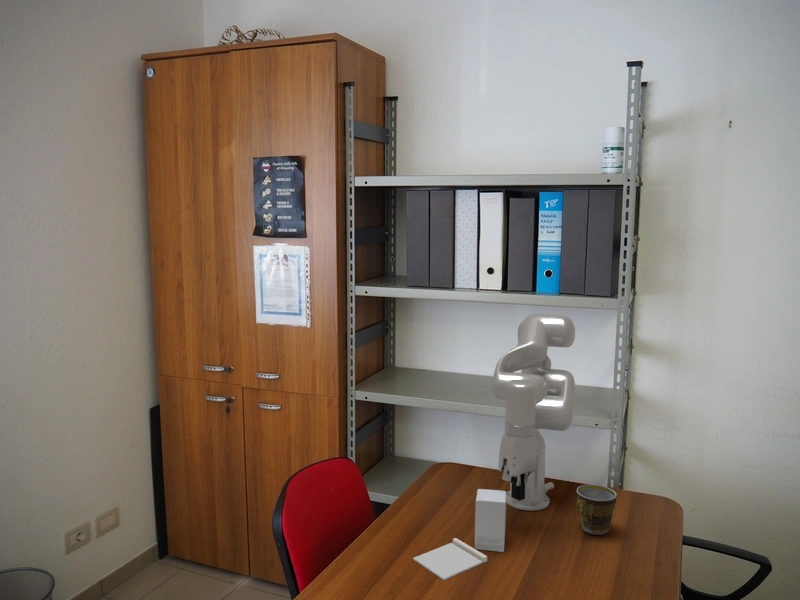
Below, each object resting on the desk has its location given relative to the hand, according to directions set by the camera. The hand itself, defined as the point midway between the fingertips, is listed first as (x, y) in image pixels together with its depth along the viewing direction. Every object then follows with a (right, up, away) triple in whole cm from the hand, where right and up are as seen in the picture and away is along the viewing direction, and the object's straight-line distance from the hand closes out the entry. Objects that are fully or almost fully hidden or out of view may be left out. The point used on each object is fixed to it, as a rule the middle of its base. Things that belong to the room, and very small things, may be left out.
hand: (517, 498), depth 160 cm
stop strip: (-13, -10, -9) cm, 19 cm away
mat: (-19, -11, -13) cm, 26 cm away
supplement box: (-8, -10, -5) cm, 14 cm away
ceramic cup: (+20, -9, +2) cm, 22 cm away
